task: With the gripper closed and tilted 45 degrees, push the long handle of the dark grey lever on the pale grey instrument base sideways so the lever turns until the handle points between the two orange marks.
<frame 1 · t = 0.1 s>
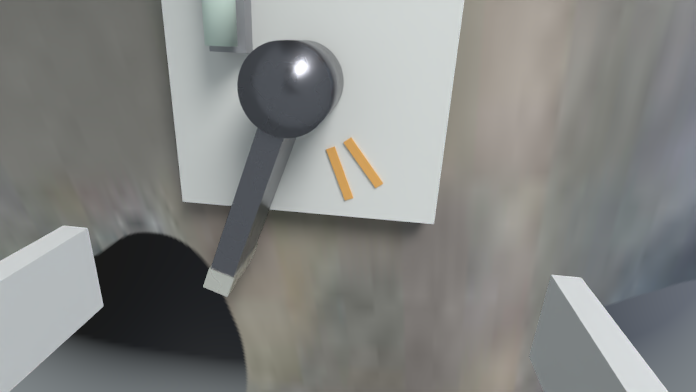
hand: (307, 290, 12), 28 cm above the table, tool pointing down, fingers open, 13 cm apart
dark grey lever: (265, 171, 33), point 7 cm above the table, hinge at -20.0°
instrument base: (313, 77, 37), on the table
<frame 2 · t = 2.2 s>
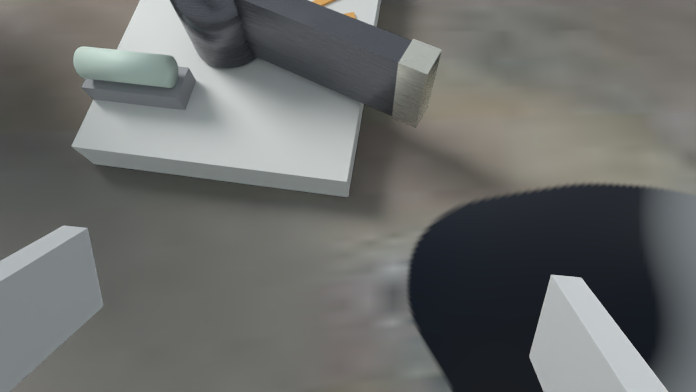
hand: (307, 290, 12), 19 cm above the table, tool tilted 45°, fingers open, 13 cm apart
dark grey lever: (298, 39, 31), point 7 cm above the table, hinge at -20.0°
instrument base: (242, 64, 39), on the table
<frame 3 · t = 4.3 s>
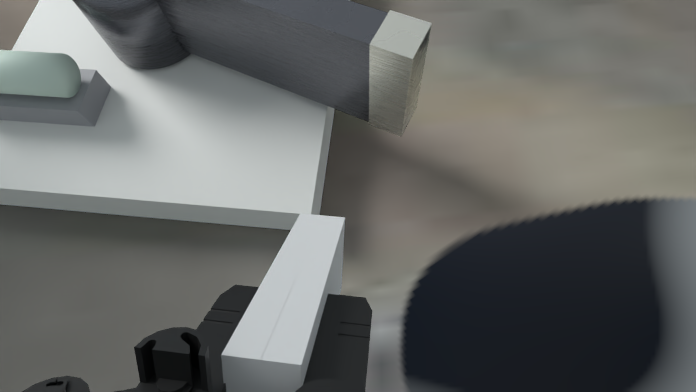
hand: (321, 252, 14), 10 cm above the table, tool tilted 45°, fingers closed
dark grey lever: (236, 23, 23), point 7 cm above the table, hinge at -20.0°
instrument base: (179, 65, 31), on the table
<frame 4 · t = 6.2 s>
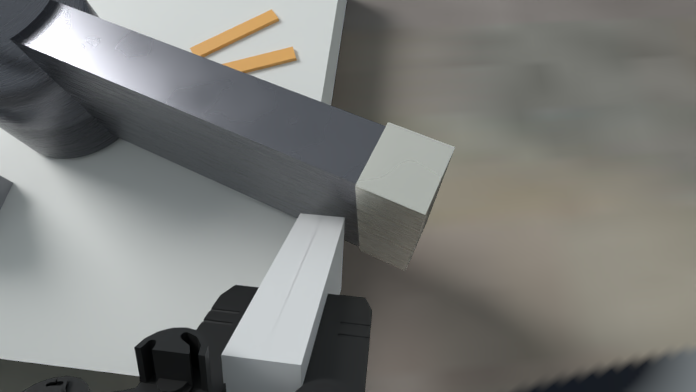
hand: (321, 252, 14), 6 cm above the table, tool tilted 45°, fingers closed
dark grey lever: (170, 112, 16), point 7 cm above the table, hinge at -19.6°, touching gripper
instrument base: (119, 137, 24), on the table
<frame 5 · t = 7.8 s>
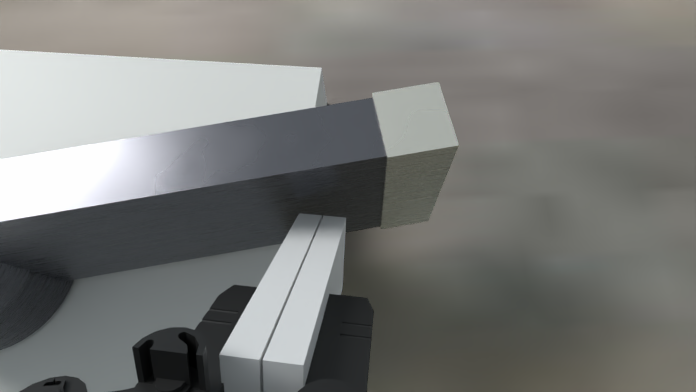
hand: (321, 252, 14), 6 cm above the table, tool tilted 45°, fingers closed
dark grey lever: (134, 213, 14), point 7 cm above the table, hinge at 15.7°, touching gripper
instrument base: (56, 287, 20), on the table
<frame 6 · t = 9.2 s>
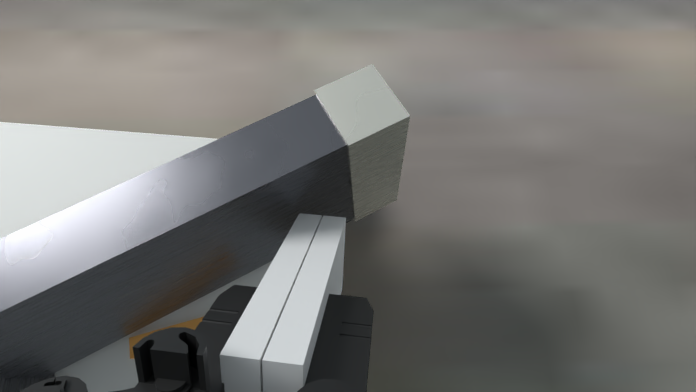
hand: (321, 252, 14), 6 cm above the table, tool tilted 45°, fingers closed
dark grey lever: (105, 280, 13), point 7 cm above the table, hinge at 34.5°, touching gripper
instrument base: (34, 390, 19), on the table
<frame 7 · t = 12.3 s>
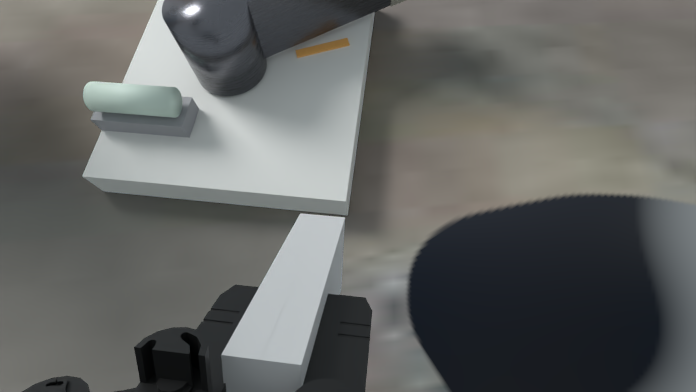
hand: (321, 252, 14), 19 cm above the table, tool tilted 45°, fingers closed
dark grey lever: (299, 5, 35), point 7 cm above the table, hinge at 34.6°
instrument base: (242, 90, 40), on the table
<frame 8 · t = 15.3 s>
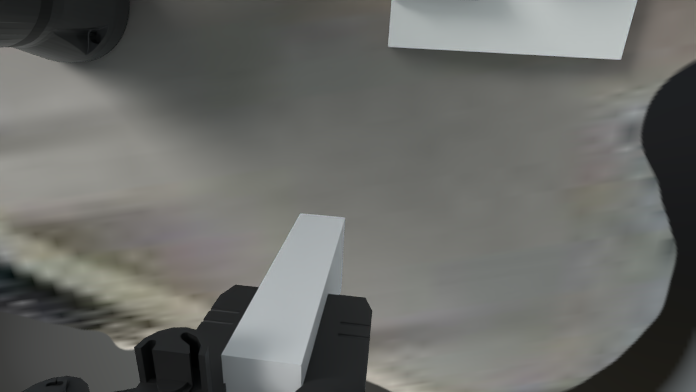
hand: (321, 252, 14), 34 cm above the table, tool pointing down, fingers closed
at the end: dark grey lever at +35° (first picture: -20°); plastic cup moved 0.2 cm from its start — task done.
